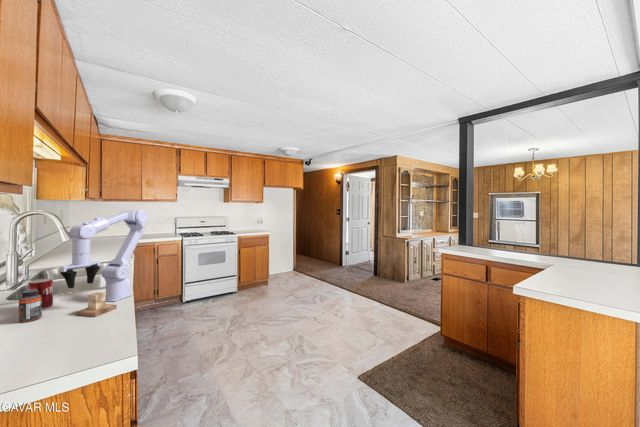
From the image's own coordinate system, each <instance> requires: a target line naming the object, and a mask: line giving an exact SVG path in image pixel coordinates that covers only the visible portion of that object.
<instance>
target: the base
mask: <svg viewBox="0 0 640 427" xmlns="http://www.w3.org/2000/svg"><path fill="white" fill-rule="evenodd" d="M116 309H117V304H107V303H105V307H103V308H100V309H98V310H89V309H88V307H85V308H83V309H80V310H77V311H76V316H80V317H90V318H91V317H92V318H96V317H98V316H102V315H104V314H107V313H109V312H111V311H114V310H116Z"/></svg>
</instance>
